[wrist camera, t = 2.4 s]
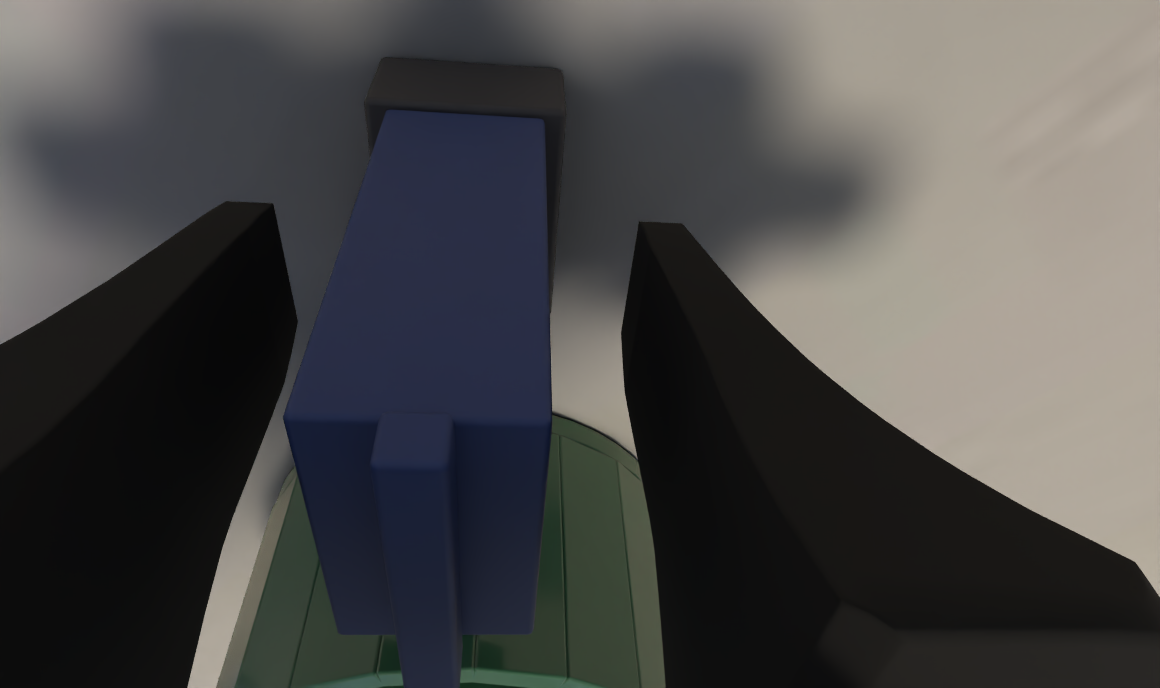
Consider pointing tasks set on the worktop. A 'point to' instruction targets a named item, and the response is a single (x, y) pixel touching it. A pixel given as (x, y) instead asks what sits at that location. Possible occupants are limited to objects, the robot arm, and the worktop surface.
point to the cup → (489, 662)
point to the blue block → (437, 364)
